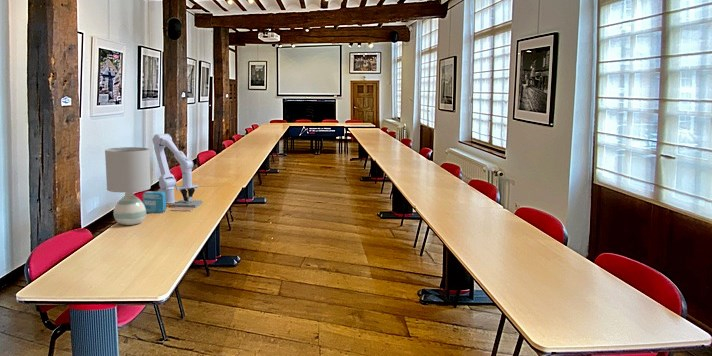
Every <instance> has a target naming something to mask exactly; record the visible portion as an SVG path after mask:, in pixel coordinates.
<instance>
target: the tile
mask: <svg viewBox="0 0 712 356" xmlns="http://www.w3.org/2000/svg"><path fill="white" fill-rule="evenodd" d="M195 209H196V208H190V207H175V208H173V207H172V209H170V212H192V211H193V210H195Z"/></svg>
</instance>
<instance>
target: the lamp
mask: <svg viewBox="0 0 712 356" xmlns="http://www.w3.org/2000/svg"><path fill="white" fill-rule="evenodd" d="M104 154H105V155H104V156H105V176H106V190H107V191H108V192H111V193H124V196H122V197H121V198H120V199H119V200H118V201H117V203H115V204H116V205H115V206H114V208H113V218H114V220H115V221H116V222H117V223H118V224H119V225H122V226H123V225H124V226H134V225H135V226H136V225H138V224H140V223H142V222H143V221H144V220H145V219H146V216H147V213H146V208H145V206H144V204H143V200H141V198H139V197H137V196H136V195H135V193H137V192H144V191H149V190H150V189H151V164H150V163H151V162H150V157H151V156H150V149H149V148H147V147H139V146H136V147H135V146H125V147H124V146H123V147H121V146H120V147H110V148H105V149H104Z"/></svg>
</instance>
